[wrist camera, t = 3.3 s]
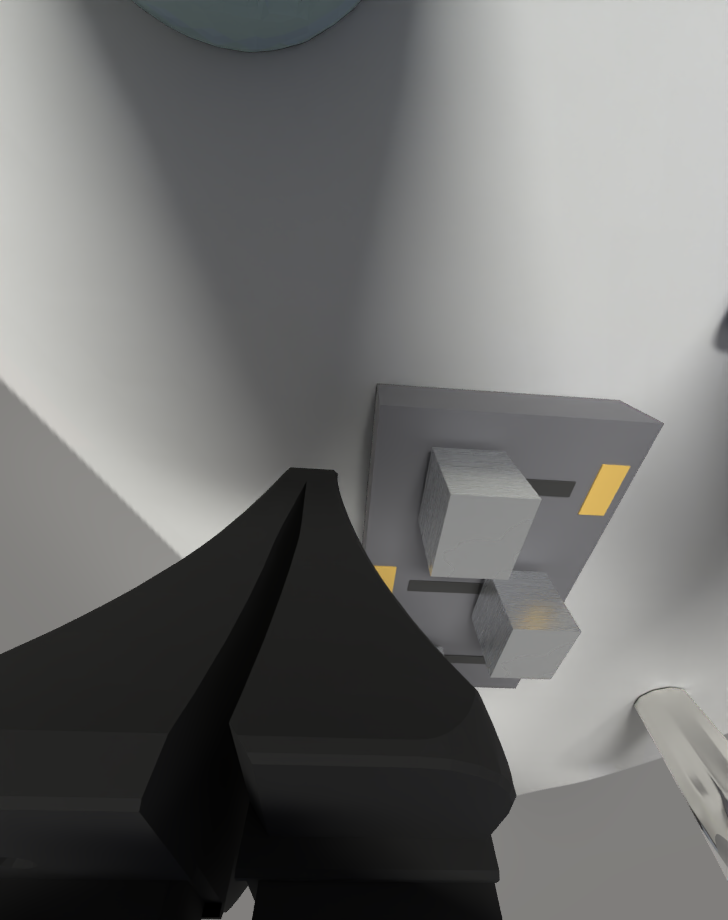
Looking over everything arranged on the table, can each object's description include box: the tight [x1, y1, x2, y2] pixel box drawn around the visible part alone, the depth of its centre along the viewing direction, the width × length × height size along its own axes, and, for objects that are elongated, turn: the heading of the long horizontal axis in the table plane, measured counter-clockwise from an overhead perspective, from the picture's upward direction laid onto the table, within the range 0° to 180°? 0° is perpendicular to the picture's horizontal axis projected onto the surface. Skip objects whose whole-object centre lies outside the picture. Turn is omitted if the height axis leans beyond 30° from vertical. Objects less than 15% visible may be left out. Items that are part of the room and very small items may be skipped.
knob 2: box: [471, 570, 581, 679], centre depth 12 cm, size 2×3×2 cm
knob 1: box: [418, 447, 542, 580], centre depth 10 cm, size 2×3×2 cm
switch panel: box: [362, 384, 664, 688], centre depth 14 cm, size 8×15×2 cm, turn 176°
